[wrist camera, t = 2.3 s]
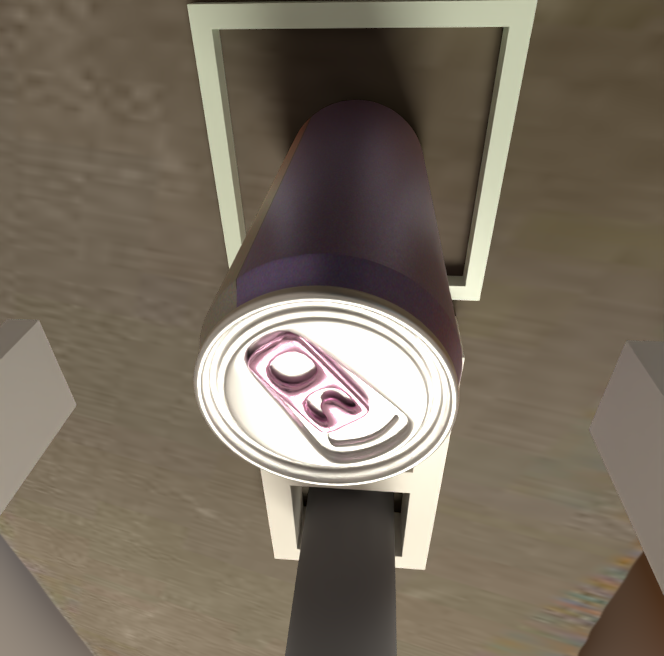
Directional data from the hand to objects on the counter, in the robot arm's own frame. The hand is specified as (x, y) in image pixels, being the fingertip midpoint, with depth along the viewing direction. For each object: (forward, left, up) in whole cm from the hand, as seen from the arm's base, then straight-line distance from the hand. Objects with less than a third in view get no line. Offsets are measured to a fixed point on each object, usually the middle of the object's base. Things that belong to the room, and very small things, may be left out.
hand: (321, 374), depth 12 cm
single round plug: (+22, 0, -14) cm, 26 cm away
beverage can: (0, 0, -14) cm, 14 cm away
